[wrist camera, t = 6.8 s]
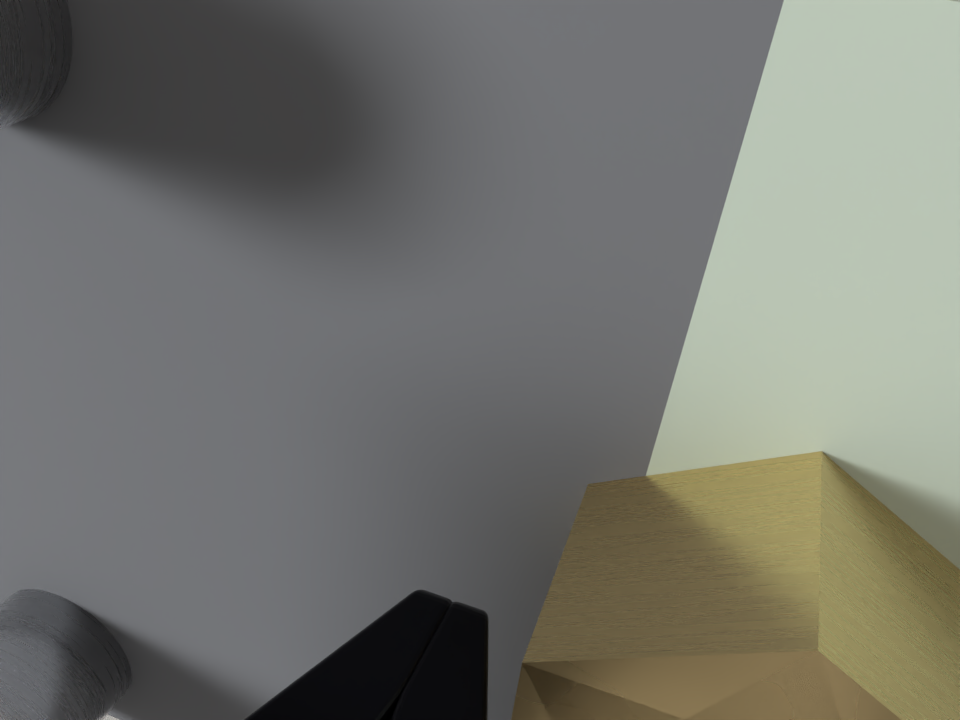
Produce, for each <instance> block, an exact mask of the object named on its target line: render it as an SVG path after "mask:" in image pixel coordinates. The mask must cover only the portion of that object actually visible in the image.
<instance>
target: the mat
mask: <svg viewBox="0 0 960 720" xmlns="http://www.w3.org/2000/svg"><path fill="white" fill-rule="evenodd" d="M67 3H68V8H69V14H70V19H71V28H72V57H71V63H70V69H69V72H68V76H67V79H66V82H65V84H64V86H63V88H62V90H61V92H60V94H59V95H58V97H57V98H56V99H55V101H54V102H53V103H52V104H51V105H50V106H49V107H48V108H47V109H46V110H44V111H42V112H41V113H39V114H38V115H36V116H33V117H31V118H28V119H25V120H22V121H20V122H17V123H14V124H11V125H9V126H6V127H3V128H1V129H0V605H1V604H2V603H3V602H4V601H5V600H6V599H7V598H8V597H9V596H10V595H12V594H13V593H15V592H17V591H19V590H24V589H37V590H43V591H47V592H50V593H53V594H56V595H58V596H61V597H63V598H65V599H67V600H69V601H71V602H73V603H75V604H76V605H78V606H79V607H81V608H82V609H84V610H85V611H87V612H88V613H89V614H91V615H92V616H93V617H94V618H96V619H97V620H98V621H99V622H100V623H101V624H102V625H103V626H104V627H105V628H106V629H107V630H108V631H109V632H110V633H111V634H112V635H113V637H114V638H115V639H116V640H117V642H118V643H119V645H120V646H121V648H122V649H123V651H124V653H125V655H126V657H127V659H128V662H129V664H130V668H131V674H132V679H131V684H130V687H129V688H128V690H127V691H126V692H125V694H124V695H123V696H122V697H121V699H120V700H119V701H118V702H117V703H116V705H115V706H114V707H113V708H112V710H111V711H110V712H109V713H108V715H110V716H113V717H115V718H118V719H120V720H244V719H245V718H247V717H248V716H249V715H251V714H252V713H253V712H255V711H256V710H257V709H259V708H260V707H261V706H262V705H264V704H265V703H266V702H268V701H269V700H270V699H272V698H273V697H274V696H276V695H277V694H278V693H280V692H281V691H282V690H284V689H285V688H286V687H288V686H289V685H290V684H292V683H293V682H294V681H296V680H297V679H298V678H300V677H301V676H302V675H304V674H305V673H306V672H307V671H309V670H310V669H311V668H313V667H314V666H315V665H317V664H318V663H319V662H321V661H322V660H323V659H325V658H326V657H327V656H329V655H330V654H331V653H333V652H334V651H335V650H337V649H338V648H339V647H341V646H342V645H343V644H345V643H346V642H347V641H349V640H350V639H351V638H353V637H354V636H355V635H356V634H358V633H359V632H360V631H362V630H363V629H364V628H366V627H367V626H368V625H370V624H371V623H372V622H374V621H375V620H376V619H378V618H379V617H380V616H382V615H383V614H384V613H386V612H387V611H388V610H390V609H391V608H392V607H394V606H395V605H396V604H398V603H399V602H400V601H401V600H403V599H404V598H405V597H407V596H408V595H409V594H411V593H412V592H414V591H416V590H426V591H429V592H432V593H435V594H438V595H440V596H443V597H446V598H449V599H450V600H452V602H455V601H456V602H461V603H464V604H467V605H469V606H472V607H475V608H478V609H481V610H484V611H485V612H486V613H487V614H488V619H489V637H488V719H487V720H511V717H512V712H513V707H514V702H515V697H516V691H517V686H518V681H519V676H520V671H521V665H522V661H523V659H524V656H525V653H526V651H527V648H528V645H529V642H530V640H531V637H532V634H533V632H534V629H535V626H536V624H537V621H538V618H539V615H540V613H541V610H542V607H543V605H544V602H545V599H546V596H547V594H548V591H549V588H550V586H551V583H552V580H553V578H554V575H555V572H556V569H557V567H558V564H559V561H560V559H561V556H562V553H563V551H564V548H565V545H566V542H567V540H568V537H569V534H570V532H571V529H572V526H573V523H574V521H575V518H576V515H577V513H578V510H579V507H580V505H581V502H582V499H583V496H584V494H585V491H586V488H587V486H588V484H592V483H599V482H606V481H613V480H620V479H628V478H635V477H642V476H649V475H656V474H663V473H670V472H677V471H684V470H691V469H699V468H706V467H713V466H720V465H727V464H734V463H741V462H748V461H755V460H762V459H770V458H777V457H784V456H791V455H798V454H805V453H812V452H819V451H822V452H823V453H824V454H826V455H827V456H828V457H829V458H830V459H831V460H833V461H834V462H835V463H836V464H837V465H838V466H840V467H841V468H842V469H843V470H844V471H845V472H847V473H848V474H849V475H850V476H851V477H852V478H854V479H855V480H856V481H857V482H858V483H859V484H861V485H862V486H863V487H864V488H865V489H866V490H868V491H869V492H870V493H871V494H872V495H873V496H875V497H876V498H877V499H878V500H879V501H880V502H882V503H883V504H884V505H885V506H886V507H887V508H889V509H890V510H891V511H892V512H893V513H894V514H896V515H897V516H898V517H899V518H900V519H901V520H903V521H904V522H905V523H906V524H907V525H908V526H910V527H911V528H912V529H913V530H914V531H915V532H917V533H918V534H919V535H920V536H921V537H922V538H924V539H925V540H926V541H927V542H928V543H929V544H931V545H932V546H933V547H934V548H935V549H936V550H938V551H939V552H940V553H941V554H942V555H943V556H945V557H946V558H947V559H948V560H949V561H950V562H952V563H953V564H954V565H955V566H956V567H957V568H959V569H960V0H67Z"/></svg>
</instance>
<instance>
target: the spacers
mask: <svg viewBox="0 0 960 720" xmlns="http://www.w3.org/2000/svg"><path fill="white" fill-rule="evenodd" d="M71 57H72V28H71V19H70V14H69V8H68V3H67V0H0V129H1V128H3V127H6V126H9V125H11V124H14V123H17V122H20V121H22V120H25V119H28V118H31V117H33V116H36V115H38V114H39V113H41V112H42V111H44V110H46V109H47V108H48V107H49V106H50V105H51V104H52V103H53V102H54V101H55V99H56V98H57V97H58V95H59V94H60V92H61V90H62V88H63V86H64V84H65V82H66V79H67V76H68V72H69V69H70V63H71ZM131 679H132V674H131V668H130V664H129V662H128V659H127V657H126V655H125V653H124V651H123V649H122V648H121V646H120V645H119V643H118V642H117V640H116V639H115V638H114V637H113V635H112V634H111V633H110V632H109V631H108V630H107V629H106V628H105V627H104V626H103V625H102V624H101V623H100V622H99V621H98V620H97V619H96V618H94V617H93V616H92V615H91V614H89V613H88V612H87V611H85V610H84V609H82V608H81V607H79V606H78V605H76V604H75V603H73V602H71V601H69V600H67V599H65V598H63V597H61V596H58V595H56V594H53V593H50V592H47V591H43V590H37V589H24V590H19V591H17V592H15V593H13V594H12V595H10V596H9V597H8V598H7V599H6V600H5V601H4V602H3V603H2V604H1V605H0V720H103V719H104V718H105V717H106V716H107V715H108V713H109V712H110V711H111V710H112V708H113V707H114V706H115V705H116V703H117V702H118V701H119V700H120V699H121V697H122V696H123V695H124V694H125V692H126V691H127V690H128V688H129V687H130V684H131Z"/></svg>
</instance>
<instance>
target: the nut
mask: <svg viewBox="0 0 960 720" xmlns="http://www.w3.org/2000/svg"><path fill="white" fill-rule="evenodd" d="M511 720H960V569H959V568H957V567H956V566H955V565H954V564H953V563H952V562H950V561H949V560H948V559H947V558H946V557H945V556H943V555H942V554H941V553H940V552H939V551H938V550H936V549H935V548H934V547H933V546H932V545H931V544H929V543H928V542H927V541H926V540H925V539H924V538H922V537H921V536H920V535H919V534H918V533H917V532H915V531H914V530H913V529H912V528H911V527H910V526H908V525H907V524H906V523H905V522H904V521H903V520H901V519H900V518H899V517H898V516H897V515H896V514H894V513H893V512H892V511H891V510H890V509H889V508H887V507H886V506H885V505H884V504H883V503H882V502H880V501H879V500H878V499H877V498H876V497H875V496H873V495H872V494H871V493H870V492H869V491H868V490H866V489H865V488H864V487H863V486H862V485H861V484H859V483H858V482H857V481H856V480H855V479H854V478H852V477H851V476H850V475H849V474H848V473H847V472H845V471H844V470H843V469H842V468H841V467H840V466H838V465H837V464H836V463H835V462H834V461H833V460H831V459H830V458H829V457H828V456H827V455H826V454H824V453H823V452H822V451H819V452H812V453H805V454H798V455H791V456H784V457H777V458H770V459H762V460H755V461H748V462H741V463H734V464H727V465H720V466H713V467H706V468H699V469H691V470H684V471H677V472H670V473H663V474H656V475H649V476H642V477H635V478H628V479H620V480H613V481H606V482H599V483H592V484H588V486H587V488H586V491H585V494H584V496H583V499H582V502H581V505H580V507H579V510H578V513H577V515H576V518H575V521H574V523H573V526H572V529H571V532H570V534H569V537H568V540H567V542H566V545H565V548H564V551H563V553H562V556H561V559H560V561H559V564H558V567H557V569H556V572H555V575H554V578H553V580H552V583H551V586H550V588H549V591H548V594H547V596H546V599H545V602H544V605H543V607H542V610H541V613H540V615H539V618H538V621H537V624H536V626H535V629H534V632H533V634H532V637H531V640H530V642H529V645H528V648H527V651H526V653H525V656H524V659H523V661H522V665H521V671H520V676H519V681H518V686H517V691H516V697H515V702H514V707H513V712H512V717H511Z"/></svg>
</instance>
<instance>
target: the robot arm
mask: <svg viewBox="0 0 960 720" xmlns="http://www.w3.org/2000/svg"><path fill="white" fill-rule="evenodd" d="M488 637H489V619H488V614H487V613H486V612H485V611H484V610H481V609H478V608H475V607H472V606H469V605H467V604H464V603H461V602H456V601H455V602H452V600H450V599H449V598H446V597H443V596H440V595H438V594H435V593H432V592H429V591H426V590H416V591H414V592H412V593H411V594H409V595H408V596H407V597H405V598H404V599H403V600H401V601H400V602H399V603H398V604H396V605H395V606H394V607H392V608H391V609H390V610H388V611H387V612H386V613H384V614H383V615H382V616H380V617H379V618H378V619H376V620H375V621H374V622H372V623H371V624H370V625H368V626H367V627H366V628H364V629H363V630H362V631H360V632H359V633H358V634H356V635H355V636H354V637H353V638H351V639H350V640H349V641H347V642H346V643H345V644H343V645H342V646H341V647H339V648H338V649H337V650H335V651H334V652H333V653H331V654H330V655H329V656H327V657H326V658H325V659H323V660H322V661H321V662H319V663H318V664H317V665H315V666H314V667H313V668H311V669H310V670H309V671H307V672H306V673H305V674H304V675H302V676H301V677H300V678H298V679H297V680H296V681H294V682H293V683H292V684H290V685H289V686H288V687H286V688H285V689H284V690H282V691H281V692H280V693H278V694H277V695H276V696H274V697H273V698H272V699H270V700H269V701H268V702H266V703H265V704H264V705H262V706H261V707H260V708H259V709H257V710H256V711H255V712H253V713H252V714H251V715H249V716H248V717H247V718H245V719H244V720H487V719H488Z"/></svg>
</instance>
